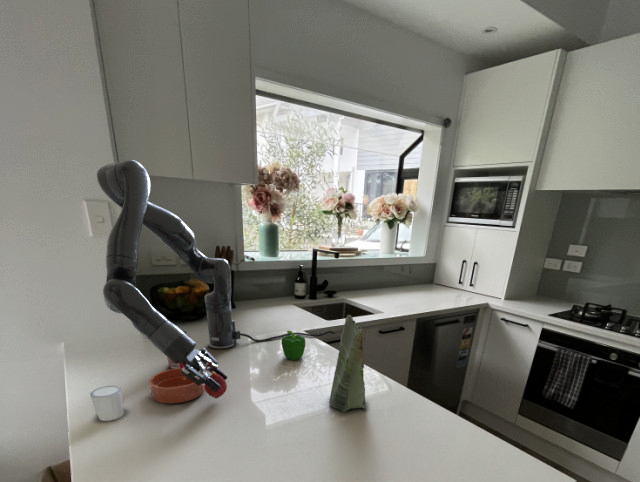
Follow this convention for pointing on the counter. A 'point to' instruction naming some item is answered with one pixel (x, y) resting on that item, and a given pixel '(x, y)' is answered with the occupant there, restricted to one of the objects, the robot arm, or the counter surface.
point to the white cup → (108, 402)
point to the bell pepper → (293, 346)
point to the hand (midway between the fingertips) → (221, 384)
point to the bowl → (174, 387)
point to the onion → (221, 382)
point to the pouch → (349, 370)
